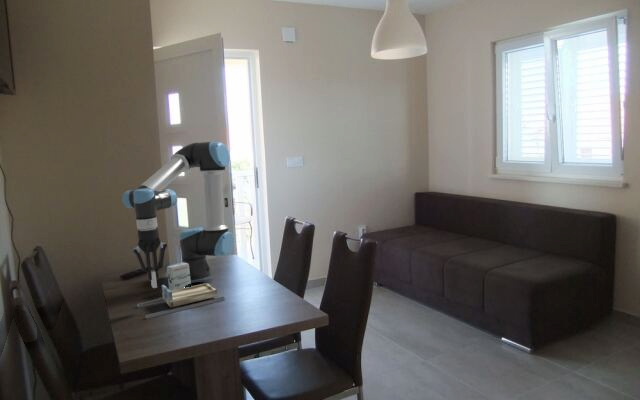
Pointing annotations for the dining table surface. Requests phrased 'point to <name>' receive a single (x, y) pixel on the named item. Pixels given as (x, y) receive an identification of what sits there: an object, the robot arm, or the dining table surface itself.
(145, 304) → the track
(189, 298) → the wooden tray
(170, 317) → the dining table surface
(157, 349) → the dining table surface
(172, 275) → the ink box
